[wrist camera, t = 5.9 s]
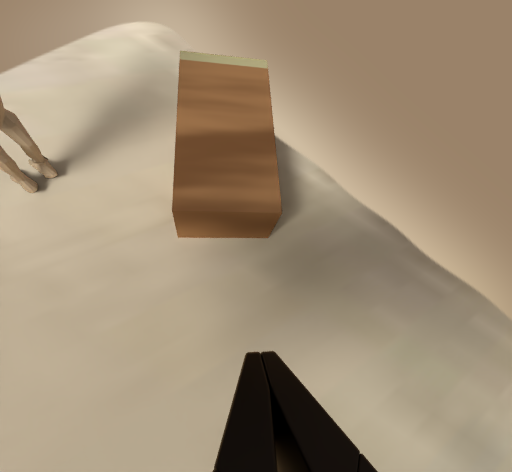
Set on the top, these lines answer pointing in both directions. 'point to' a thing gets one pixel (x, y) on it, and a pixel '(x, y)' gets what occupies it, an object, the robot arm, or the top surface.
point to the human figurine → (18, 133)
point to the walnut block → (224, 149)
